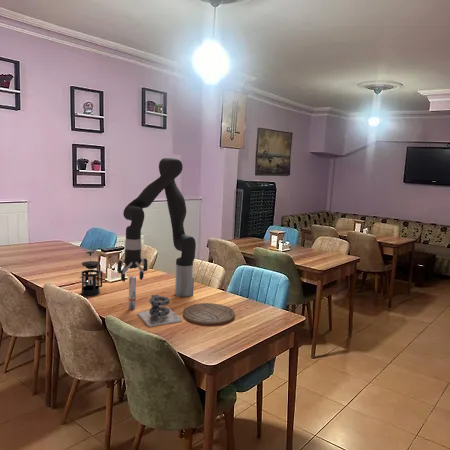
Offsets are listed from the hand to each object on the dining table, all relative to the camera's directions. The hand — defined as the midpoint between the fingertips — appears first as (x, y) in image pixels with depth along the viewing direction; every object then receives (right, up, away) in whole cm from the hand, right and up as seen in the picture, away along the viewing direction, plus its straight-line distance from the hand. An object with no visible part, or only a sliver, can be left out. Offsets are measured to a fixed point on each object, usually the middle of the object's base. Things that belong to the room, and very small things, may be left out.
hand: (132, 280), depth 198 cm
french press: (-27, -10, +21) cm, 36 cm away
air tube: (-1, -14, +2) cm, 15 cm away
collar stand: (+14, -17, -7) cm, 23 cm away
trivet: (+37, -17, -1) cm, 41 cm away
